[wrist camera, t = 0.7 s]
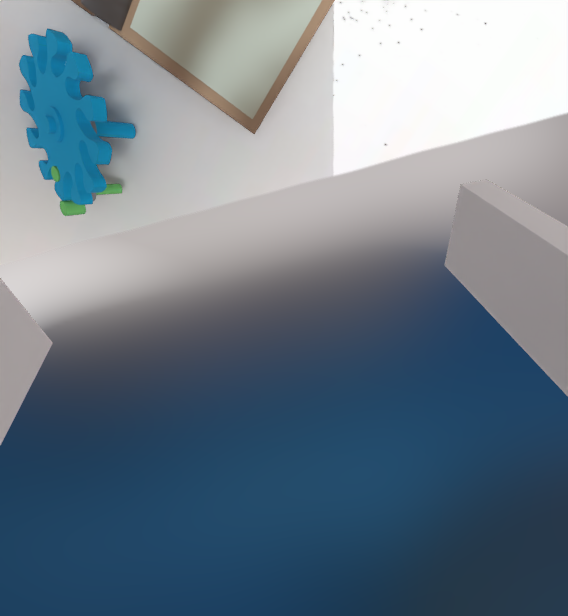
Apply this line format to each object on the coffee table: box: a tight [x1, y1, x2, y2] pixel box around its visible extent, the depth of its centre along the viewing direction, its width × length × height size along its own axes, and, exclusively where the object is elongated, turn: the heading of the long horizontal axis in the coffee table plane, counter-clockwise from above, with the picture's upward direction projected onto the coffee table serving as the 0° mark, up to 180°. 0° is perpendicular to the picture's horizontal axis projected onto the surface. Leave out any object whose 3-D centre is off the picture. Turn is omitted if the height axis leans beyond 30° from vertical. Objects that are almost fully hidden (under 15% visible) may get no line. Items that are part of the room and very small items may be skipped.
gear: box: [19, 29, 136, 216], centre depth 24 cm, size 11×6×10 cm
